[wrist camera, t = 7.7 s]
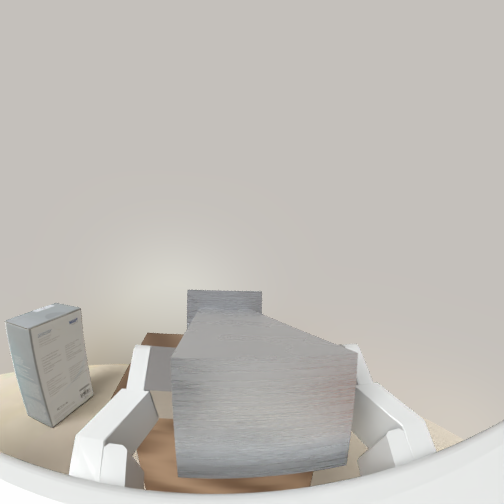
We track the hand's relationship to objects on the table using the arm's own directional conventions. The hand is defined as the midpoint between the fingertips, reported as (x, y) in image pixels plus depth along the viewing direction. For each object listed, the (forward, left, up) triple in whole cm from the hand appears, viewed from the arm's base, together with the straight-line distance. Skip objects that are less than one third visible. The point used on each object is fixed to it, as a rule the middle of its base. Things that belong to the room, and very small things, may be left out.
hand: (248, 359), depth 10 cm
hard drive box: (-32, +41, -32) cm, 61 cm away
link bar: (0, +7, -4) cm, 8 cm away
